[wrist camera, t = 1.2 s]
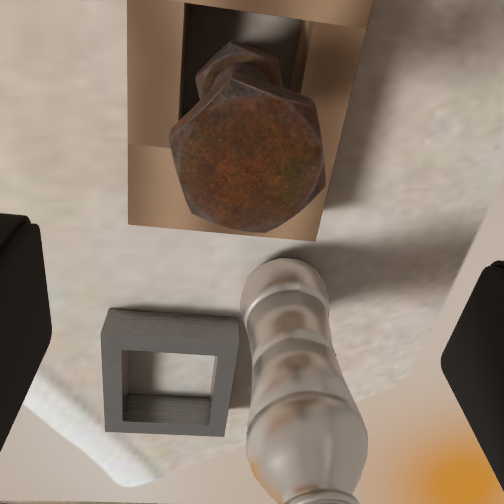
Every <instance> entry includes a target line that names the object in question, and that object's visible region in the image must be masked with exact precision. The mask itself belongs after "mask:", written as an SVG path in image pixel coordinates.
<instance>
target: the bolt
mask: <svg viewBox="0 0 504 504" xmlns="http://www.w3.org/2000/svg"><path fill="white" fill-rule="evenodd" d="M195 80H196V85H197V89H198V94H199V98H200V101H199V102H198V103H197V104H196V105H195V106H194V107H193V108H192V109H191V110H190V111H189V112H188V113H187V114H186V115H184V116H183V117H182V118H181V119H180V120H179V121H178V122H177V123H176V124H175V125H174V126H173V127H172V128H171V131H170V134H169V138H168V139H169V143H170V148H171V153H172V157H173V161H174V165H175V169H176V173H177V176H178V179H179V182H180V185H181V188H182V191H183V194H184V197H185V200H186V202H187V205H188V207H189V209H190V211H191V213H192V214H194V215H196V216H198V217H200V218H202V219H204V220H206V221H209V222H211V223H214V224H216V225H219V226H222V227H226V228H230V229H234V230H239V231H244V232H251V233H267V232H269V231H271V230H273V229H275V228H277V227H279V226H281V225H282V224H284V223H285V222H287V221H288V220H290V219H291V218H292V217H294V216H295V215H297V214H298V213H299V212H301V211H302V210H303V209H304V208H305V207H306V206H307V205H308V204H310V203H311V202H312V201H313V200H314V199H315V198H316V196H317V195H318V194H319V193H320V192H321V191H322V190H323V189H324V188H325V186H326V171H325V162H324V153H323V144H322V137H321V130H320V124H319V119H318V114H317V108H316V105H315V104H314V102H313V100H312V98H310V97H307V96H304V95H301V94H298V93H295V92H292V91H290V90H287V89H284V88H283V83H282V77H281V72H280V66H279V61H278V59H277V57H276V56H275V55H272V54H270V53H268V52H265V51H263V50H260V49H257V48H255V47H252V46H249V45H246V44H243V43H239V42H236V41H232V40H230V41H229V42H228V43H227V44H226V45H225V46H224V47H222V48H221V49H220V50H219V51H218V52H217V53H216V54H215V55H214V56H213V57H212V58H211V59H210V60H209V61H208V62H207V63H206V64H205V65H204V66H203V67H202V68H201V70H200V71H199V72H198V73H197V74H196V78H195Z"/></svg>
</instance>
